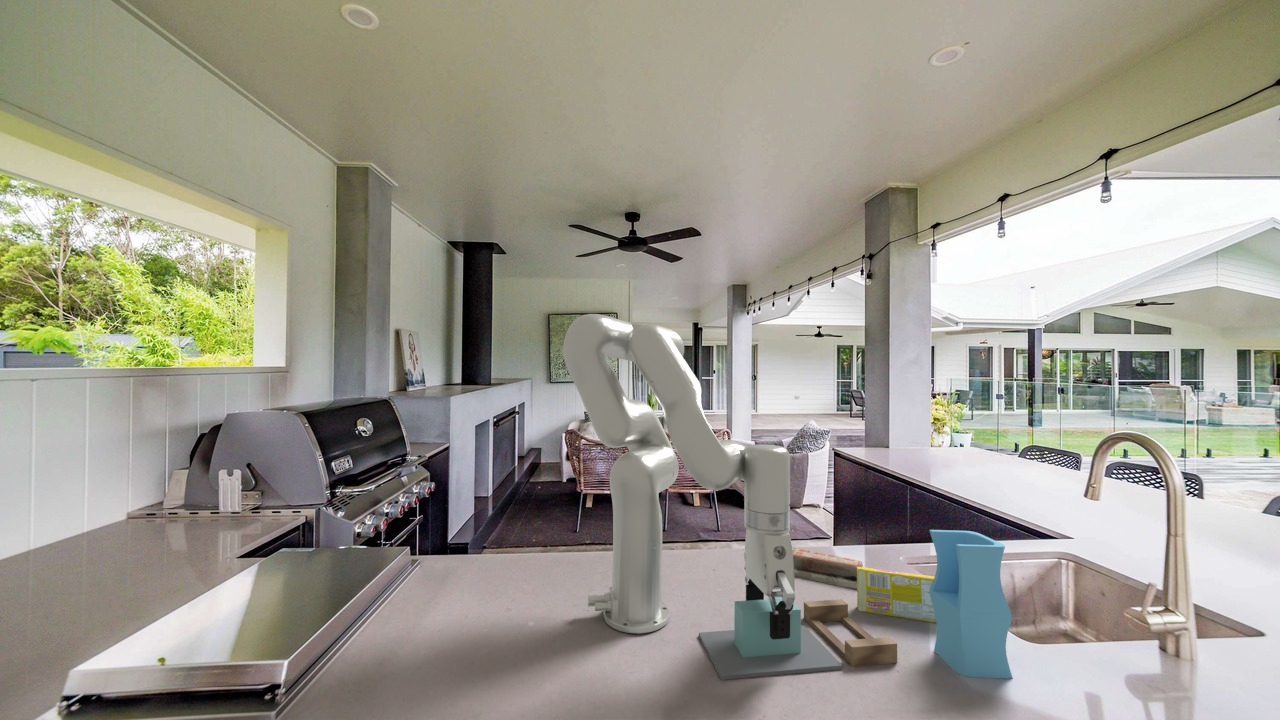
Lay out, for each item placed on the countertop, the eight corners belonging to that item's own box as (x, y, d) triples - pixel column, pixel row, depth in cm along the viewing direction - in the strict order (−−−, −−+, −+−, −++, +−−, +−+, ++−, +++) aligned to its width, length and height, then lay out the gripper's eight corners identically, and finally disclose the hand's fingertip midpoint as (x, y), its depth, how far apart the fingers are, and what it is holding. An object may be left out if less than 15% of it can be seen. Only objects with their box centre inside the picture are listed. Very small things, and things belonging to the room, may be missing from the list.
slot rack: (852, 666, 73) (852, 647, 73) (803, 617, 88) (803, 601, 88) (897, 662, 74) (897, 643, 74) (841, 615, 89) (841, 599, 89)
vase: (930, 647, 79) (928, 529, 79) (976, 648, 78) (974, 530, 79) (961, 676, 71) (958, 545, 72) (1012, 678, 70) (1010, 547, 71)
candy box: (949, 621, 88) (948, 577, 88) (952, 626, 86) (952, 581, 86) (856, 606, 93) (856, 565, 93) (858, 611, 91) (857, 568, 91)
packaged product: (784, 555, 108) (792, 542, 117) (784, 576, 108) (792, 562, 116) (869, 571, 99) (870, 556, 108) (869, 594, 99) (871, 577, 108)
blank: (800, 652, 75) (800, 609, 76) (743, 657, 74) (743, 613, 74) (789, 639, 79) (789, 598, 79) (734, 643, 78) (734, 601, 78)
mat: (721, 680, 69) (721, 675, 69) (698, 636, 81) (698, 632, 81) (842, 669, 72) (842, 665, 72) (803, 628, 84) (803, 625, 84)
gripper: (814, 534, 70) (814, 650, 69) (765, 504, 87) (765, 596, 86) (768, 536, 68) (767, 654, 68) (728, 505, 85) (727, 598, 85)
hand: (766, 621), depth 77 cm, fingers open, 9 cm apart
